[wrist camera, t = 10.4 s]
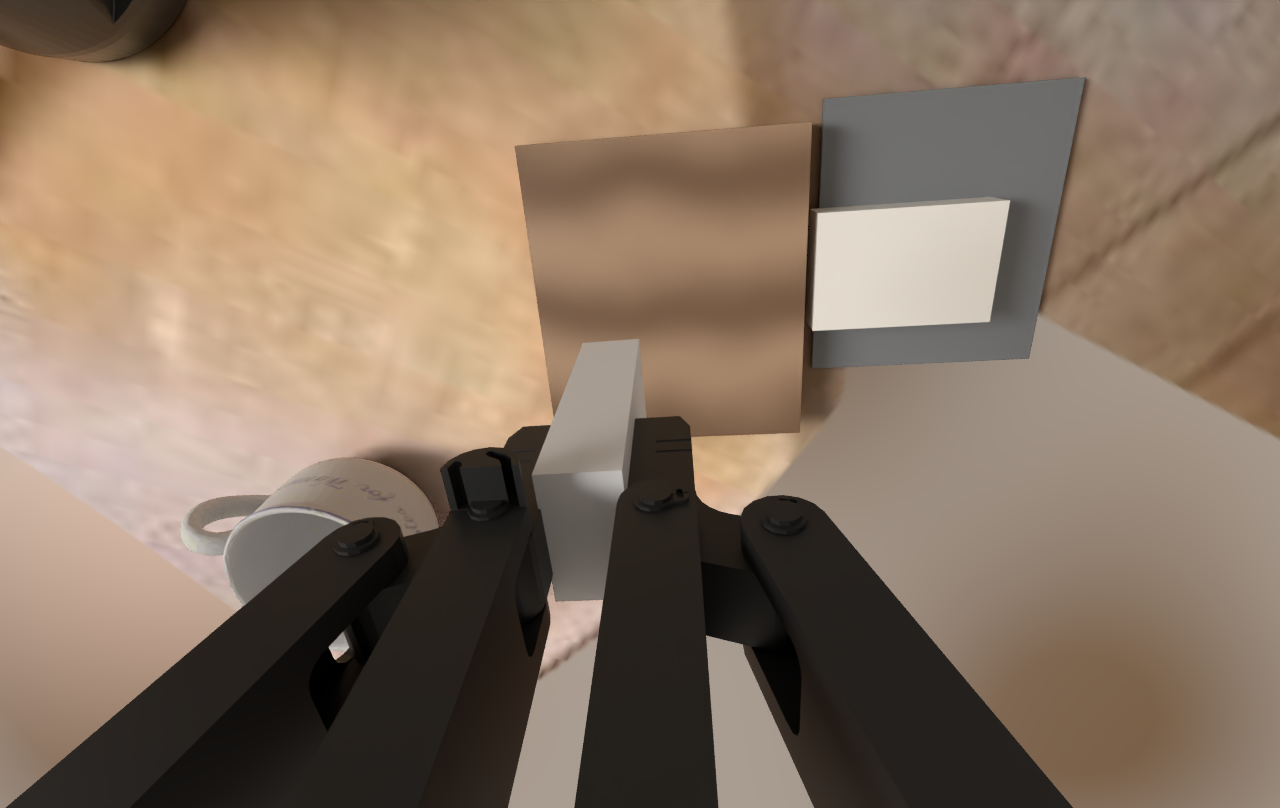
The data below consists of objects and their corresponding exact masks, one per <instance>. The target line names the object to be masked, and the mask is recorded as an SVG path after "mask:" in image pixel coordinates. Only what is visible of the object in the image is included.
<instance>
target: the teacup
mask: <svg viewBox="0 0 1280 808" xmlns="http://www.w3.org/2000/svg"><path fill="white" fill-rule="evenodd" d="M240 516H247V517H245V518H244V519H243V520H241V521H240V522H239V523H238V524H237V525H236V526H235V528H234V529H233V530H230V531H226V532H219V533H214V532H209V531H205V530H203V529H202V528H203V527H204V526H205V525H207V524H209V523H211V522H214V521H216V520H220V519H225V518H230V517H240ZM370 517H386V518H389V519H393V520H395V521H396V522H397V523H398V524H399V526H400V527H401V530H402V533H403V537H405V536H409V535H413V534H417V533H421V532H425V531H429V530H433V529H436V528H439V525H438V521H437V517H436V514H435V512H434V509H433V507H432V505H431V503H430V502H429V500H428V499H427V497H426V496H425V494H424V493H423V492H422V491H421V490H420V489H419V487H418V486H416V485H415V484H414V483H413V482H412V481H411V480H409V479H408V478H407V477H406V476H404V475H403V474H401V473H400V472H398V471H396V470H394V469H392V468H390V467H388V466H386V465H383V464H381V463H378V462H374V461H370V460H366V459H359V458H336V459H330V460H326V461H322V462H319V463H316V464H314V465H312V466H309V467H308V468H306V469H304V470H302V471H300V472H299V473H298V474H296V475H295V476H293V477H292V478H291V479H290V480H288V481H287V482H286V483H285V484H283V485H282V486H281V487H280V488H279V489H278V490H277V491H276V492H275V493H273V494H272V495H243V496H227V497H220V498H216V499H212V500H208V501H205V502H203V503H201V504H199V505H197V506H196V507H194V508H193V509H191V510H190V511H189V512H188V513H187V514H186V516H185V518H184V519H183V521H182V524H181V538H182V541H183V543H184V544H185V546H186V547H187V548H188V549H189V550H191V551H193V552H195V553H198V554H201V555H208V556H217V555H223V565H224V570H225V574H226V577H227V580H228V581H229V584H230V587H231V589H232V591H233V593H234V595H235V596H236V598H237V599H238V601H239V602H240V603H241V604H242V605H243V606H244V605H245V604H247V603H248V602H249V601H250V600H251V599H253V598H254V597H255V596H256V595H257V594H258V593H260V592H261V591H262V590H263V589H264V588H266V587H267V586H268V585H269V584H270V583H271V582H273V581H274V580H275V579H276V578H277V577H278V576H280V575H281V574H282V573H283V572H284V571H286V570H287V569H288V568H289V567H290V566H291V565H293V564H294V563H295V562H296V561H297V560H299V559H300V558H301V557H302V556H303V555H304V554H306V553H307V552H308V551H309V550H310V549H312V548H313V547H314V546H315V545H316V544H317V543H319V542H320V541H321V540H322V539H323V538H325V537H326V536H327V535H329V534H330V533H332V532H333V531H335V530H336V529H338V528H340V527H342V526H344V525H347V524H349V523H350V522H352V521H355V520H359V519H363V518H370ZM348 648H349V645H348V643H347V640H346V638H345V635H344V633H343V632H342V633H341V634H340V635H339V637H338V638H337V639H336V640H335V641H334V642H333V643H332V644H331V645H330V646H329V649H330V651H347V650H348Z"/></svg>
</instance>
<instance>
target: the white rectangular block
mask: <svg viewBox="0 0 1280 808" xmlns="http://www.w3.org/2000/svg"><path fill="white" fill-rule="evenodd" d="M1009 205H1010V200H1005V199H1000V198H994V197H980V198H965V199H950V200H936V201H921V202H906V203H891V204H876V205H861V206H847V207H832V208H817V209H810V220H809V244H808V268H807V293H806V317H805V321H806V322H807V324H808V325H809V326H810V328H811V329H812V331H822V330H841V329H861V328H881V327H900V326H920V325H939V324H959V323H979V322H990V317H991V311H992V305H993V299H994V293H995V287H996V281H997V275H998V270H999V264H1000V258H1001V252H1002V246H1003V240H1004V234H1005V228H1006V222H1007V216H1008V211H1009Z"/></svg>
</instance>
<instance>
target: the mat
mask: <svg viewBox="0 0 1280 808" xmlns="http://www.w3.org/2000/svg"><path fill="white" fill-rule="evenodd" d="M1084 81H1085V77H1081V78H1069V79H1057V80H1045V81H1033V82H1021V83H1009V84H997V85H985V86H973V87H961V88H949V89H937V90H925V91H913V92H901V93H889V94H877V95H865V96H853V97H841V98H829V99H823V114H822V136H821V158H820V180H819V202H818V208H832V207H847V206H861V205H876V204H891V203H906V202H921V201H936V200H950V199H965V198H980V197H994V198H1000V199H1005V200H1010V205H1009V211H1008V216H1007V222H1006V228H1005V234H1004V240H1003V246H1002V252H1001V258H1000V264H999V270H998V275H997V281H996V287H995V293H994V299H993V305H992V311H991V317H990V322H979V323H959V324H939V325H920V326H900V327H881V328H861V329H841V330H822V331H813V334H812V356H811V368H812V369H817V368H838V367H858V366H880V365H902V364H922V363H944V362H964V361H985V360H1006V359H1028V358H1029V356H1030V351H1031V346H1032V341H1033V336H1034V330H1035V325H1036V321H1037V316H1038V311H1039V306H1040V301H1041V296H1042V291H1043V286H1044V281H1045V276H1046V271H1047V266H1048V261H1049V256H1050V251H1051V246H1052V241H1053V236H1054V231H1055V226H1056V221H1057V216H1058V211H1059V206H1060V201H1061V196H1062V191H1063V186H1064V181H1065V176H1066V171H1067V166H1068V161H1069V156H1070V151H1071V146H1072V141H1073V136H1074V131H1075V126H1076V121H1077V116H1078V111H1079V106H1080V101H1081V96H1082V91H1083V86H1084Z"/></svg>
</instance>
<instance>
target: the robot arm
mask: <svg viewBox="0 0 1280 808" xmlns="http://www.w3.org/2000/svg"><path fill="white" fill-rule="evenodd" d="M185 1H186V0H0V45H2V46H5V47H7V48H11V49H14V50H18V51H21V52H25V53H29V54H34V55H39V56H46V57H53V58H60V59H68V60H75V61H83V62H104V61H111V60H117V59H121V58H125V57H127V56H130V55H133V54H135V53H137V52H139V51H141V50H143V49H145V48H146V47H148V46H150V45H151V44H152V43H154V42H155V41H156V40H157V39H159V38H160V37H161V36H162V35H163V34H164V33H165V32H166V31H167V30H168V28H169V27H170V26H171V25H172V24H173V22H174V21H175V19H176V18H177V16H178V15H179V13H180V11H181V9H182V7H183V6H184V3H185ZM440 471H441V474H442V478H443V482H444V486H445V490H446V493H447V497H448V501H449V505H450V508H451V512H450V513H449V515H448V517H447V519H446V521H445V522H444V524H443V526H442V527H439V528H436V529H433V530H429V531H425V532H421V533H417V534H413V535H409V536H405V537H403V533H402V530H401V527H400V526H399V524H398V523H397V522H396V521H395V520H393V519H389V518H386V517H370V518H363V519H359V520H355V521H352V522H350V523H349V524H347V525H344V526H342V527H340V528H338V529H336V530H335V531H333V532H332V533H330V534H329V535H327V536H326V537H325V538H323V539H322V540H321V541H320V542H319V543H317V544H316V545H315V546H314V547H313V548H312V549H310V550H309V551H308V552H307V553H306V554H304V555H303V556H302V557H301V558H300V559H299V560H297V561H296V562H295V563H294V564H293V565H291V566H290V567H289V568H288V569H287V570H286V571H284V572H283V573H282V574H281V575H280V576H278V577H277V578H276V579H275V580H274V581H273V582H271V583H270V584H269V585H268V586H267V587H266V588H264V589H263V590H262V591H261V592H260V593H258V594H257V595H256V596H255V597H254V598H253V599H251V600H250V601H249V602H248V603H247V604H245V605H244V606H243V607H242V608H241V609H240V610H238V611H237V612H236V613H235V614H234V615H233V616H231V617H230V618H229V619H228V620H227V621H225V622H224V623H223V624H222V625H221V626H220V627H218V628H217V629H216V630H215V631H214V632H212V633H211V634H210V635H209V636H208V637H207V638H205V639H204V640H203V641H202V642H201V643H200V644H198V645H197V646H196V647H195V648H194V649H192V650H191V651H190V652H189V653H188V654H187V655H185V656H184V657H183V658H182V659H181V660H180V661H179V662H177V663H176V664H175V665H174V666H172V667H171V668H170V669H169V670H168V671H166V673H164V674H163V675H162V676H161V677H160V678H158V679H157V680H156V681H155V682H153V683H152V684H151V685H150V686H149V687H148V688H146V689H145V690H144V691H143V692H142V693H141V694H139V695H138V696H137V697H136V698H135V699H133V700H132V701H131V702H130V703H129V704H127V705H126V706H125V707H124V708H123V709H122V710H120V711H119V712H118V713H117V714H116V715H114V716H113V717H112V718H111V719H110V720H109V721H108V722H106V723H105V724H104V725H103V726H102V727H100V728H99V729H98V730H97V731H96V732H94V733H93V734H92V735H91V736H90V737H89V738H87V739H86V740H85V741H84V742H83V743H82V744H80V745H79V746H78V747H77V748H76V749H74V750H73V751H72V752H71V753H70V754H68V755H67V756H66V757H65V758H64V759H63V760H61V761H60V762H59V763H58V764H57V765H56V766H54V767H53V768H52V769H51V770H50V771H48V772H47V773H46V774H45V775H44V776H43V777H41V778H40V779H39V780H38V781H37V782H36V783H34V784H33V785H32V786H31V787H30V788H28V789H27V790H26V791H25V792H24V793H22V795H20V796H19V797H18V798H17V799H15V800H14V801H13V802H12V803H11V804H10V805H8V806H7V807H6V808H508V804H509V800H510V795H511V791H512V787H513V783H514V778H515V774H516V770H517V765H518V761H519V757H520V752H521V748H522V744H523V739H524V735H525V731H526V726H527V722H528V718H529V713H530V709H531V705H532V701H533V696H534V692H535V687H536V683H537V679H538V675H539V670H540V666H541V662H542V657H543V653H544V649H545V644H546V640H547V636H548V631H549V627H550V611H549V606H548V601H547V596H548V592H549V588H550V584H551V580H552V584H553V589H554V595H555V600H556V601H582V600H603V606H602V613H601V620H600V627H599V635H598V642H597V650H596V657H595V663H594V671H593V678H592V685H591V693H590V700H589V707H588V714H587V721H586V728H585V736H584V743H583V750H582V757H581V764H580V772H579V779H578V786H577V793H576V801H575V807H574V808H718V797H717V784H716V769H715V755H714V741H713V728H712V713H711V701H710V685H709V672H708V658H707V644H706V635H707V636H711V637H715V638H719V639H723V640H727V641H731V642H735V643H740V644H743V647H744V652H745V656H746V658H747V660H748V662H749V665H750V667H751V669H752V671H753V673H754V676H755V678H756V680H757V682H758V684H759V687H760V689H761V691H762V693H763V695H764V698H765V700H766V702H767V704H768V707H769V709H770V711H771V713H772V715H773V718H774V720H775V722H776V724H777V726H778V728H779V731H780V733H781V735H782V737H783V740H784V742H785V744H786V746H787V748H788V751H789V753H790V755H791V757H792V760H793V762H794V764H795V766H796V768H797V771H798V773H799V775H800V777H801V779H802V782H803V784H804V786H805V788H806V790H807V793H808V795H809V797H810V799H811V802H812V804H813V806H814V808H1073V807H1072V806H1071V805H1070V804H1069V802H1068V801H1067V800H1066V799H1065V798H1064V796H1063V795H1062V794H1061V793H1060V792H1059V791H1058V789H1057V788H1056V787H1055V786H1054V785H1053V783H1052V782H1051V781H1050V780H1049V779H1048V777H1047V776H1046V775H1045V774H1044V773H1043V771H1042V770H1041V769H1040V768H1039V767H1038V766H1037V764H1036V763H1035V762H1034V761H1033V760H1032V758H1031V757H1030V756H1029V755H1028V754H1027V753H1026V751H1025V750H1024V749H1023V748H1022V746H1021V745H1020V744H1019V743H1018V742H1017V741H1016V739H1015V738H1014V737H1013V736H1012V735H1011V734H1010V732H1009V731H1008V730H1007V729H1006V727H1005V726H1004V725H1003V724H1002V723H1001V721H1000V720H999V719H998V718H997V717H996V716H995V714H994V713H993V712H992V711H991V710H990V708H989V707H988V706H987V705H986V704H985V702H984V701H983V700H982V699H981V698H980V697H979V695H978V694H977V693H976V692H975V691H974V689H973V688H972V687H971V686H970V685H969V683H968V682H967V681H966V680H965V679H964V677H963V676H962V675H961V674H960V673H959V672H958V670H957V669H956V668H955V667H954V666H953V664H952V663H951V662H950V661H949V660H948V658H947V657H946V656H945V655H944V654H943V652H942V651H941V650H940V649H939V648H938V647H937V645H936V644H935V643H934V642H933V641H932V639H931V638H930V637H929V636H928V635H927V633H926V632H925V631H924V630H923V629H922V628H921V626H920V625H919V624H918V623H917V621H915V619H914V618H913V617H912V616H911V614H910V613H909V612H908V611H907V610H906V608H905V607H904V606H903V605H902V604H901V602H900V601H899V600H898V599H897V598H896V597H895V595H894V594H893V593H892V592H891V591H890V589H889V588H888V587H887V586H886V585H885V583H884V582H883V581H882V580H881V579H880V577H879V576H878V575H877V574H876V573H875V571H874V570H873V569H872V568H871V567H870V566H869V565H868V563H867V562H866V561H865V560H864V558H863V557H862V556H861V555H860V554H859V552H858V551H857V550H856V549H855V548H854V546H853V545H852V544H851V543H850V542H849V541H848V539H847V538H846V537H845V536H844V535H843V533H842V532H841V531H840V530H839V529H838V528H837V526H836V525H835V524H834V523H833V521H831V519H830V518H829V517H828V516H827V514H826V513H825V512H824V511H823V510H822V509H820V508H819V507H818V506H816V505H815V504H814V503H812V502H809V501H807V500H804V499H802V498H799V497H792V496H785V495H779V496H767V497H764V498H761V499H758V500H755V501H753V502H752V503H750V504H749V505H748V506H746V507H745V508H744V510H743V512H742V514H741V516H740V515H734V514H728V513H724V512H720V511H717V510H715V509H713V508H710V507H708V506H707V505H706V504H704V503H703V502H702V501H701V500H700V499H699V498H698V496H697V494H696V491H695V484H694V471H693V457H692V444H691V431H690V425H689V424H688V423H687V422H686V421H685V420H684V419H683V418H682V417H681V416H669V417H652V418H646V407H645V396H644V385H643V374H642V363H641V353H640V342H639V339H632V340H617V341H603V342H588V343H583V344H582V347H581V349H580V352H579V354H578V357H577V359H576V362H575V365H574V367H573V370H572V372H571V375H570V378H569V380H568V383H567V385H566V388H565V390H564V393H563V396H562V398H561V401H560V403H559V406H558V408H557V411H556V414H555V416H554V419H553V421H552V424H551V425H545V426H528V427H522V428H521V429H520V430H518V431H517V432H516V433H515V434H513V435H512V436H511V437H510V438H508V440H507V442H506V444H505V446H504V448H494V447H489V448H482V449H475V450H472V451H469V452H466V453H463V454H460V455H458V456H457V457H455V458H453V459H451V460H449V461H448V462H447V463H446V464H445V465H444V466H443V467H442V468H441V469H440ZM342 632H343V633H344V635H345V638H346V640H347V643H348V645H349V648H348V650H347V651H346V652H345V653H344V654H343V655H342V656H340V657H339V658H338V659H336V660H335V659H334V658H333V656H332V654H331V652H330V649H329V646H330V645H331V644H332V643H333V642H334V641H335V640H336V639H337V638H338V637H339V635H340V634H341V633H342Z"/></svg>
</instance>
